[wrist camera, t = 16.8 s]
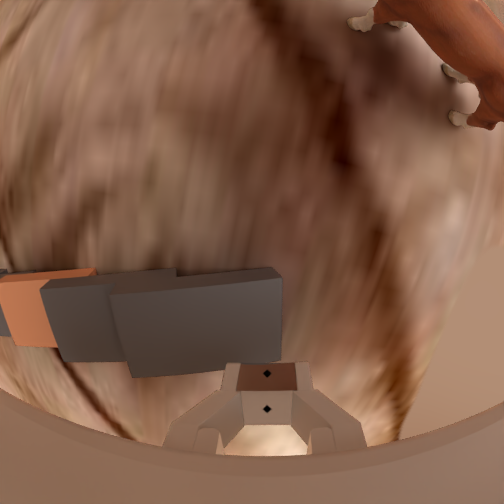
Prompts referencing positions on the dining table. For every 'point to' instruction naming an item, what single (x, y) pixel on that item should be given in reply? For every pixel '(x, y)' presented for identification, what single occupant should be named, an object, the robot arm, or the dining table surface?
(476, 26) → the bull figurine
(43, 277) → the domino
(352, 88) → the dining table surface
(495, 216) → the dining table surface
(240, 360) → the domino
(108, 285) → the domino
